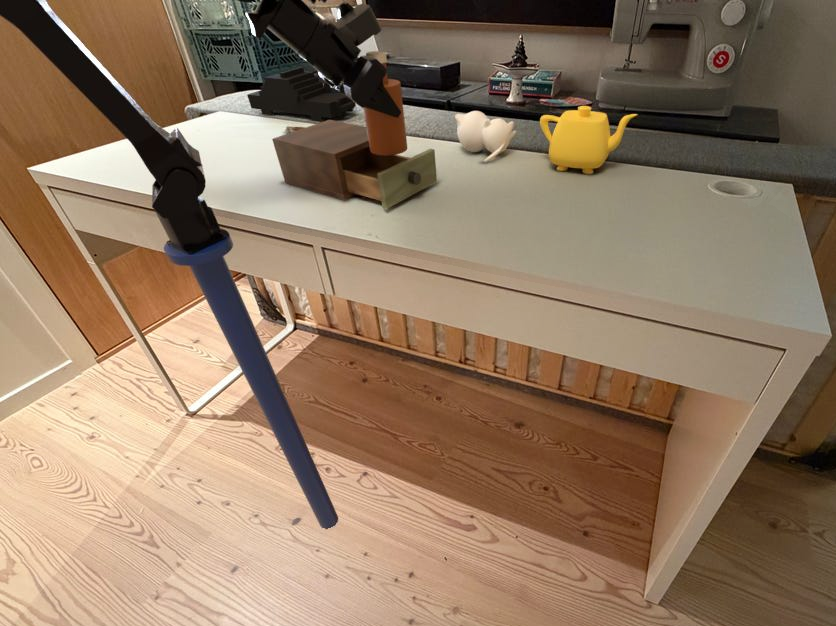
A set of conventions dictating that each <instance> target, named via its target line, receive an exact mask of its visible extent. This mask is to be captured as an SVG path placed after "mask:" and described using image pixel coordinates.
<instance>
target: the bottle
mask: <svg viewBox="0 0 836 626" xmlns="http://www.w3.org/2000/svg"><path fill="white" fill-rule="evenodd" d="M365 56H371V57H373V58H375V59H377V60H378V61H379V62H380V63H381V64H382V65H383V66H384V67H385V68H387V62H388V59H387V52H386V51H382V50H381V51H380V50H373V51H367V52H366V53H365ZM383 85H384V87H385V88H386V90H387V92H388V93H389V95H390V96H391V97H392V99H393V100H394V102H395V103H396V105H397V106H398V108H399V109H400V111H401V114H400V116H399V117H398V118H396V117H393V116H390V115H387V114H384V113H381V112H378V111H375V110H372V109H368V108H365V107H364V108H362V109H363V110H362V111H363V114H364V121H365V122H364V123H365V127H366V128H367V135H368V141H369V147H370V151H371V153H373V154H376V155H385V156H386V155H400V154H402V153H405V152H406V151H407V150H408V141H407V132H406V122H405V112H404V103H403V96H402V95H403V94H402V85H401V81H400V80H397V79H393V78H389V77H388V72H387V73H386V75H385V76H384V78H383Z"/></svg>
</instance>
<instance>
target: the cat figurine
mask: <svg viewBox="0 0 836 626" xmlns="http://www.w3.org/2000/svg"><path fill="white" fill-rule="evenodd" d="M454 119H455V121H456V124H457V129H456V134H457V139H458V141H459V143H460V145H461V146H462V147H463V148H464V149H465V150H467V151H468V152H470V153H479V152H480V151H483V150H484V149H486V150H487V151H488V152H490V153H491V154H489V155H488V156H487V157H486V158H485V159H484V160H483V163H485V164H486V163H488V162H490V161H492V160H493V159H495V158H496V157H497V156H498V155H499V154H502V153H503V152H505V150H506V149H507V148H508V147H509V144H510V143H511V140H512V139H513V138H514V137H515V136H516V134H517V130H513V129H514V126H515V121H514V120H512V121H510V122H506V121H505V120H504V118H500V117H496V118H492V119H490V118H488V116H487V115H486V114H485V113H484V112H482V111H480V110H472V111H470V112H467V113H457V114H455V115H454Z"/></svg>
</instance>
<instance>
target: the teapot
mask: <svg viewBox="0 0 836 626" xmlns="http://www.w3.org/2000/svg"><path fill="white" fill-rule="evenodd" d="M636 116H638V113H631V114H626V115H624V116H622V118H621V119H620V121H619V123H618V125H617V128H616V131H615V132H614V134H612V135H611V129H610V122H609V118H608V115H607V113H605V112H600V111H593V110H592V107H591V106H589V105H579V106H578V107H577V110H576V109H570V110H569V109H568V110H566V111H564V112H563V113H562V114H561V115H560V116H556V115H552V114H543V115H541V117H540V118H539V123H540V128H541V130H542V132H543V134H544V136H545V137H546V139H547V140H548V142H549V147H548V156H549V159H550V161H551V163H552V164H554V165H556V166H557V167H556V170H557V171H560V172H565V171H568V169H569V168H572V169H573V168H574V169H582V173H583V174H587V175H591V174H594V169H598V168H601V166H603V164H604V163H605V161H606V160H607V159H608V156H609V155H610V153H611V152H613V151H615V149H617V147H618V146H619V145H620V143H621V142H622V139H623V136H624V133H625V131H626V130H625V129H626V127H627V125H628V124H629V122H630V120H632V119H633V118H634V117H636ZM549 122H555V123H556V125H555V128H554V130H553V132H552V133H551V131H550V126H549Z"/></svg>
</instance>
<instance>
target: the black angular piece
mask: <svg viewBox="0 0 836 626" xmlns="http://www.w3.org/2000/svg"><path fill="white" fill-rule="evenodd" d="M263 78H264V81H261V83H262V86H260V90H257V91H254V92H251V93H248V94H246V96H247V98H248V102H249V105H250V108H251V109H254V110H260V111H261V115H266V116H274V115H276V113H275V112H279V113H286V114H294V115H295V114H296V115H302V116H310V118H311V121H314V122H324V121H326V119H327V118H328V119H333V118H336V117H343V116H344V114H345V113H347V112H349V113H351V112H352V113H353V111H354V109H355V108H356V107H357V106H356V105H357V104H356V103H355V102H354V101H352V100H351V99H350V98H349V97H348V96H347V95H345V94H343V93H341V92H335V91H334V92H333V91H332V87H331V86H330V85H329V84H328V83H326V82H323V81H320V77H319V76H316V74H315V72H314V71H309V70H305V68H304V66H298V67H295V68H294V67H293V68H292V69H288V70H285V71H281V72H277V73H275V74H272V75H268V76H265V77H263ZM325 118H326V119H325Z"/></svg>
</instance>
